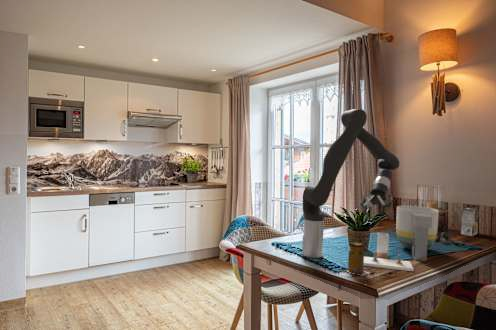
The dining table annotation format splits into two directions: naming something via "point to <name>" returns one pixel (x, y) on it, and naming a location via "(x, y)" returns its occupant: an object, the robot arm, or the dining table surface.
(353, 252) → the condiment
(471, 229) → the coffee box
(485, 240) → the dining table surface
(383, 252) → the sleeve
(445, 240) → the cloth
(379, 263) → the pin board
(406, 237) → the planter
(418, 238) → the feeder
